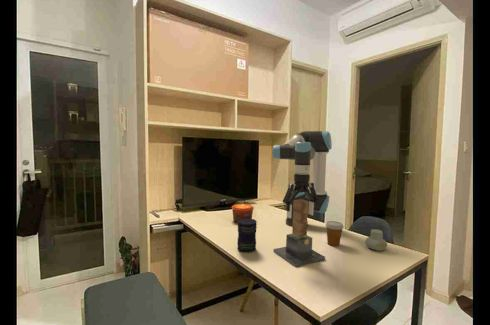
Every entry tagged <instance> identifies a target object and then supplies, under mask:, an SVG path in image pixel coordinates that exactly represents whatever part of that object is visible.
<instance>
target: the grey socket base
mask: <svg viewBox="0 0 490 325" xmlns="http://www.w3.org/2000/svg"><path fill="white" fill-rule="evenodd" d="M285 241H286V242H285V244H286V245H285V246H282V247H277V248H273V253H275V254H276V256H279V257H280V258H282V259H283V260H284V261H286V262H287V263H289V264H290V265H292V266H293V267H295V268H297V267H301V265H302V266H305V264H306V265H309V264H313V263H317V262H322V261H325V260H326V256H325V255H323V254H321V253H319V252H317V251H315V250H314V249H313V237H312V236H309V235H307V238H302V239H297V238H295V237H293V236H292V233H289V234H286V240H285Z"/></svg>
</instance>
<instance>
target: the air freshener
mask: <svg viewBox="0 0 490 325" xmlns="http://www.w3.org/2000/svg"><path fill="white" fill-rule="evenodd" d="M383 237H384V232H383V231H382V230H381V229H376V228H372V229H371V230H370V236H368V237H366V238H365V240H364V243H365V245H366V247H368V248H369V249H371V250H374V251H377V252H380V251H384V250H386V249H387V247H388V242H387V241H386V240H385V239H384V238H383Z"/></svg>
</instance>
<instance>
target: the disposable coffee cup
mask: <svg viewBox="0 0 490 325" xmlns="http://www.w3.org/2000/svg"><path fill="white" fill-rule="evenodd" d="M325 227H326V240H327V245H329V246H332V247H339V246H340V245H341V238H342V233H343V229H344V225H343V223H342V222H339V221H336V220H335V221H334V220H329V221H326V223H325Z"/></svg>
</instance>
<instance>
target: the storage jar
mask: <svg viewBox="0 0 490 325" xmlns="http://www.w3.org/2000/svg"><path fill="white" fill-rule="evenodd" d="M237 234H238V235H237V243H236V244H237V250H238V252H240V253H245V254H247V253H248V254H249V253H253V252H255V251H256V250H257V248H256V246H257V236H256V235H257V220H256V219H253V218H252V219H248V218H245V219H240V220H238V223H237Z"/></svg>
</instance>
